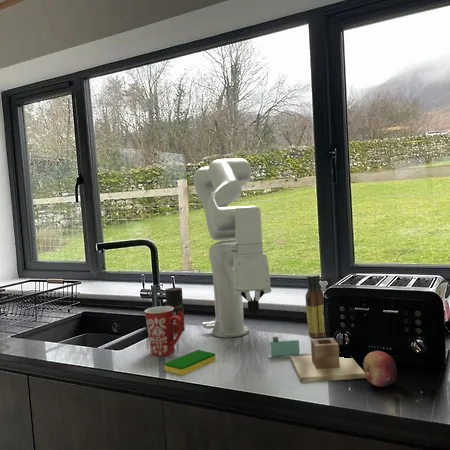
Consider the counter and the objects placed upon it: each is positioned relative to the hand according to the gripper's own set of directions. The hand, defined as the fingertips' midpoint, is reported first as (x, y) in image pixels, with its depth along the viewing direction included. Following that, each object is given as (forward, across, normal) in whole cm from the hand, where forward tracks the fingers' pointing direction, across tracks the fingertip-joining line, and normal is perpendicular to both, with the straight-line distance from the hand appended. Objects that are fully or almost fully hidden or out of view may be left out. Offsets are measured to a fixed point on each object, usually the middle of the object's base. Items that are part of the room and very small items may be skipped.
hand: (253, 314), depth 138 cm
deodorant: (+12, -26, +36) cm, 46 cm away
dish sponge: (+13, -19, -1) cm, 23 cm away
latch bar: (+13, +8, +1) cm, 15 cm away
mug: (+13, -27, +11) cm, 32 cm away
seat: (+13, +14, -8) cm, 21 cm away
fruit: (+14, +27, -24) cm, 39 cm away
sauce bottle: (+13, +21, +19) cm, 31 cm away
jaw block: (+12, +17, -11) cm, 24 cm away
